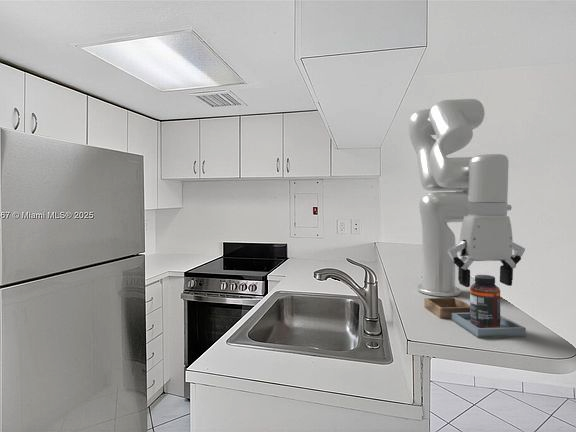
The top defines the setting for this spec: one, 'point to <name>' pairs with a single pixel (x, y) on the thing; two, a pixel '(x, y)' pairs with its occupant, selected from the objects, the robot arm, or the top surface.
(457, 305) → the holder
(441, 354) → the top surface
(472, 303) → the supplement bottle
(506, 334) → the tray
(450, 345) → the top surface
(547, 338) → the top surface
